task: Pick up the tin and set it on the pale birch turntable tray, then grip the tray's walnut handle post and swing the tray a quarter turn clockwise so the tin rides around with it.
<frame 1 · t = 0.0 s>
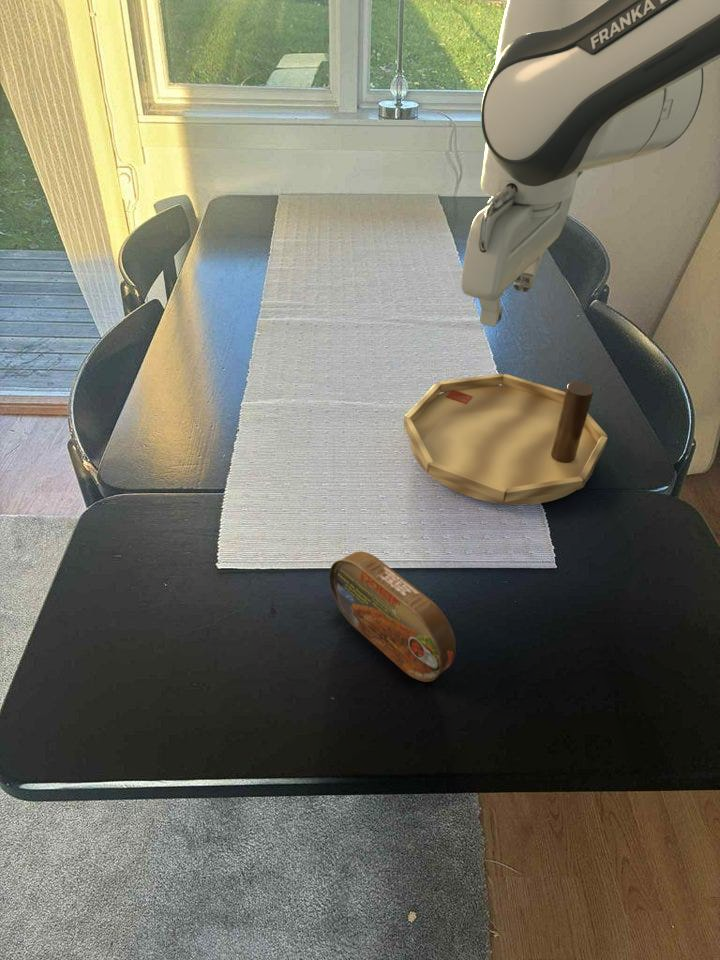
hand: (507, 305, 76), 22 cm above the table, tool pointing down, fingers open, 8 cm apart
tin: (388, 641, 69), on the table
tray: (508, 407, 88), point 7 cm above the table, hinge at 0.0°
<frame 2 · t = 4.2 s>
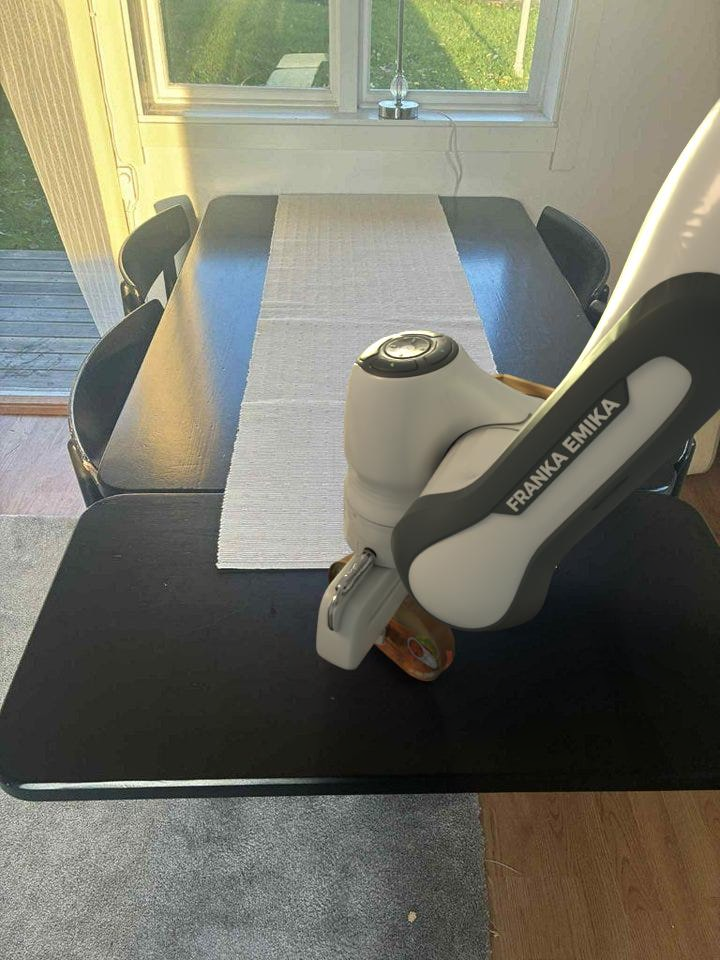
hand: (389, 620, 67), 3 cm above the table, tool pointing down, fingers closed on tin, 3 cm apart
tin: (389, 639, 69), on the table, touching gripper
everything else where it was.
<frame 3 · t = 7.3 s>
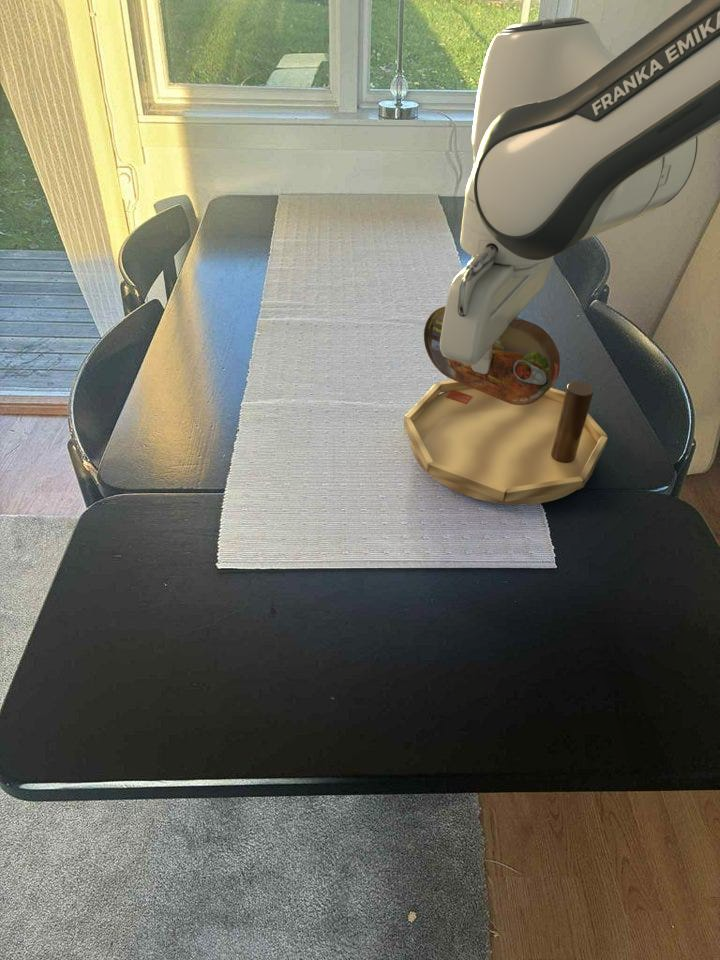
hand: (489, 360, 73), 19 cm above the table, tool pointing down, fingers closed on tin, 3 cm apart
tin: (485, 385, 75), point 16 cm above the table, touching gripper
everything else where it was.
when the fingers open (6 cm above the table, at t = 10.9 s): tin stays where it is, resting on tray.
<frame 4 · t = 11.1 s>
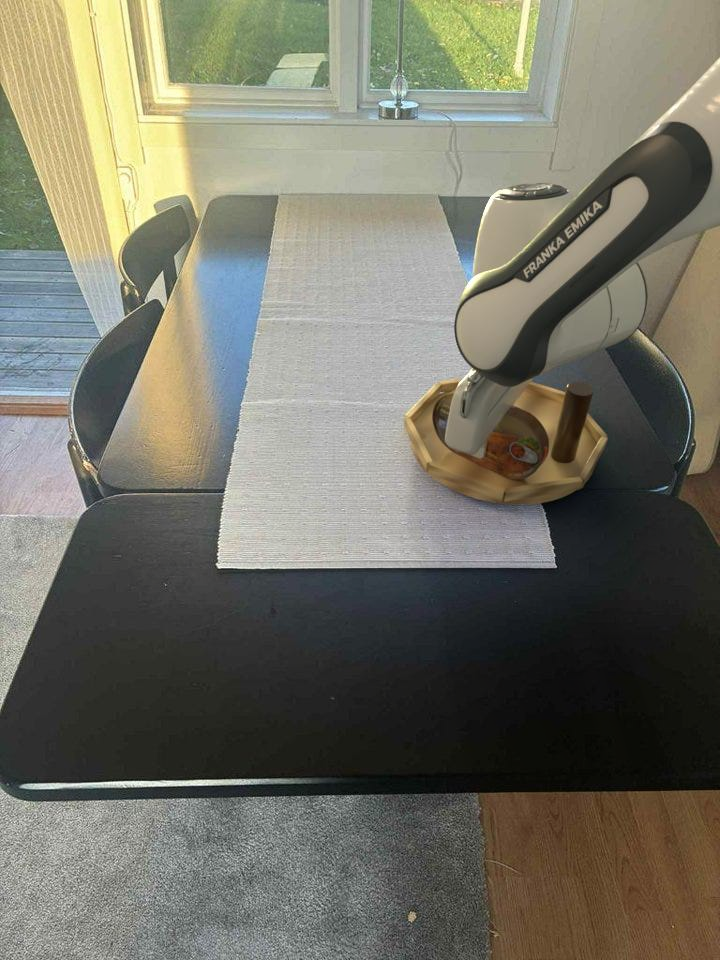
hand: (488, 440, 85), 6 cm above the table, tool pointing down, fingers open, 5 cm apart
tin: (484, 460, 87), point 2 cm above the table, touching tray
tray: (508, 407, 88), point 7 cm above the table, hinge at -0.5°, touching tin
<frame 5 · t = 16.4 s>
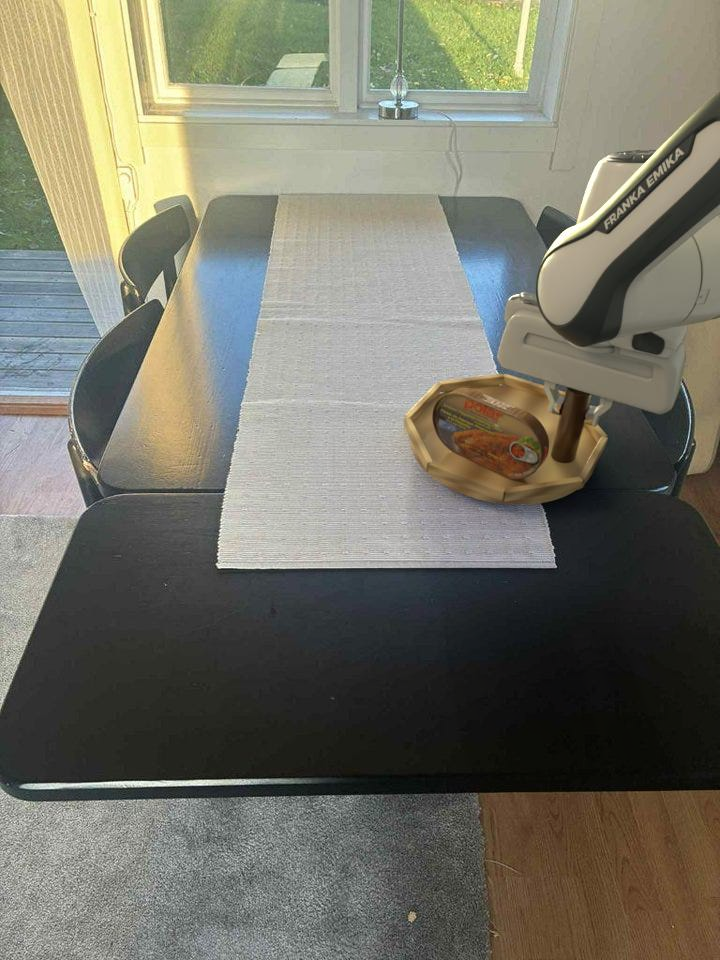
hand: (573, 417, 84), 9 cm above the table, tool pointing down, fingers closed on tray, 3 cm apart
tray: (508, 407, 88), point 7 cm above the table, hinge at -0.4°, touching gripper, tin
everything else where it was.
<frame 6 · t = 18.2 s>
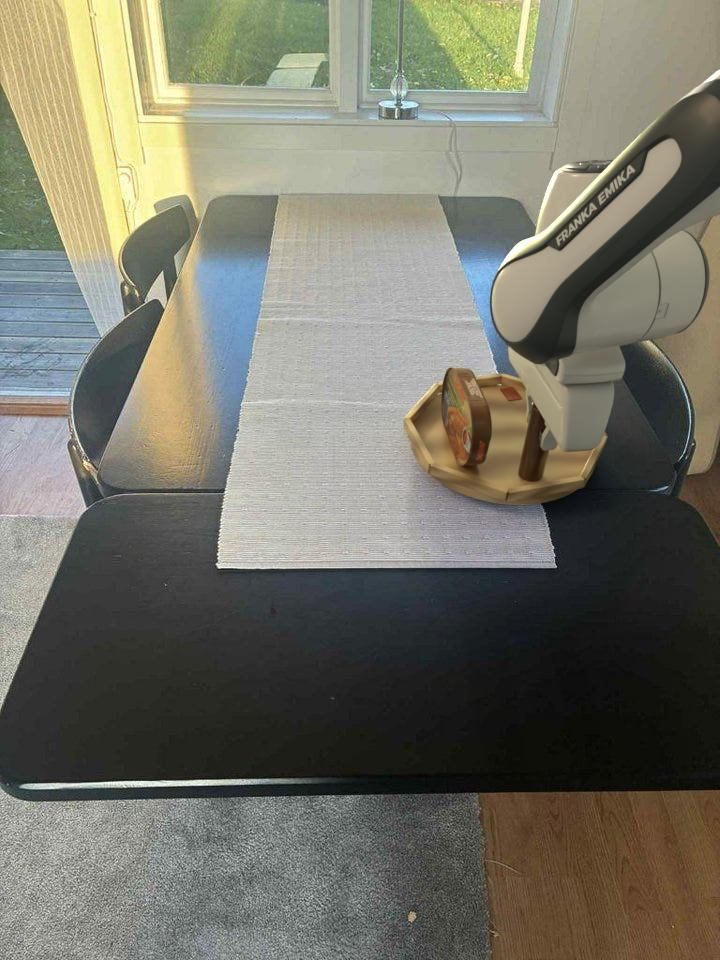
hand: (540, 435, 81), 9 cm above the table, tool pointing down, fingers closed on tray, 3 cm apart
tin: (461, 443, 89), point 3 cm above the table, touching tray
tray: (508, 407, 88), point 7 cm above the table, hinge at -44.0°, touching gripper, tin
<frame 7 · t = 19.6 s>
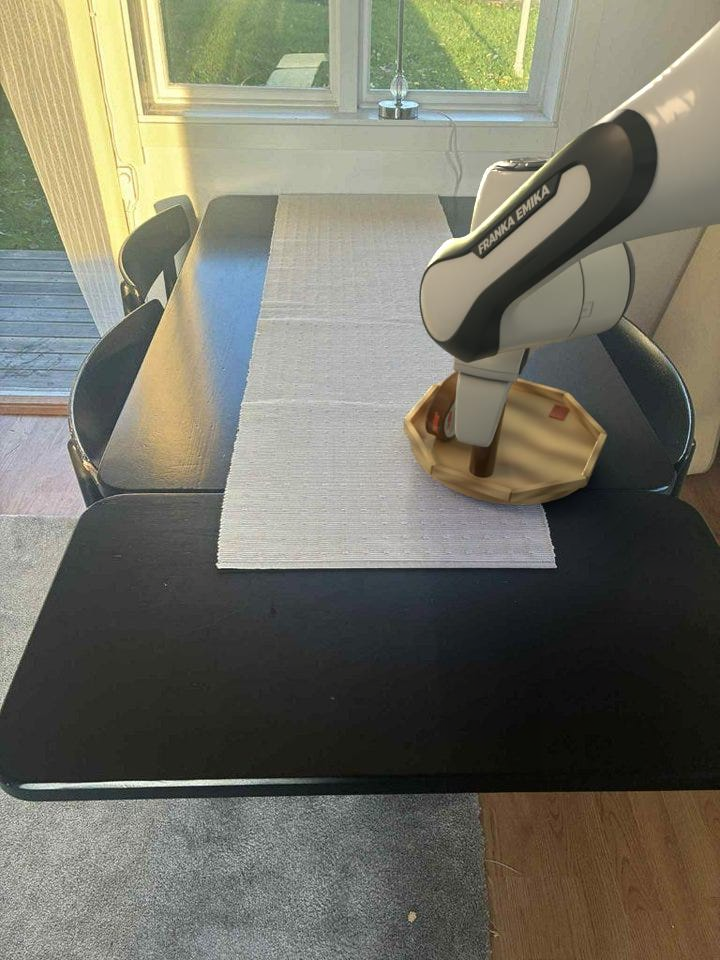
hand: (485, 430, 81), 9 cm above the table, tool pointing down, fingers closed on tray, 3 cm apart
tin: (461, 423, 93), point 2 cm above the table, touching tray
tray: (508, 407, 88), point 7 cm above the table, hinge at -87.3°, touching gripper, tin
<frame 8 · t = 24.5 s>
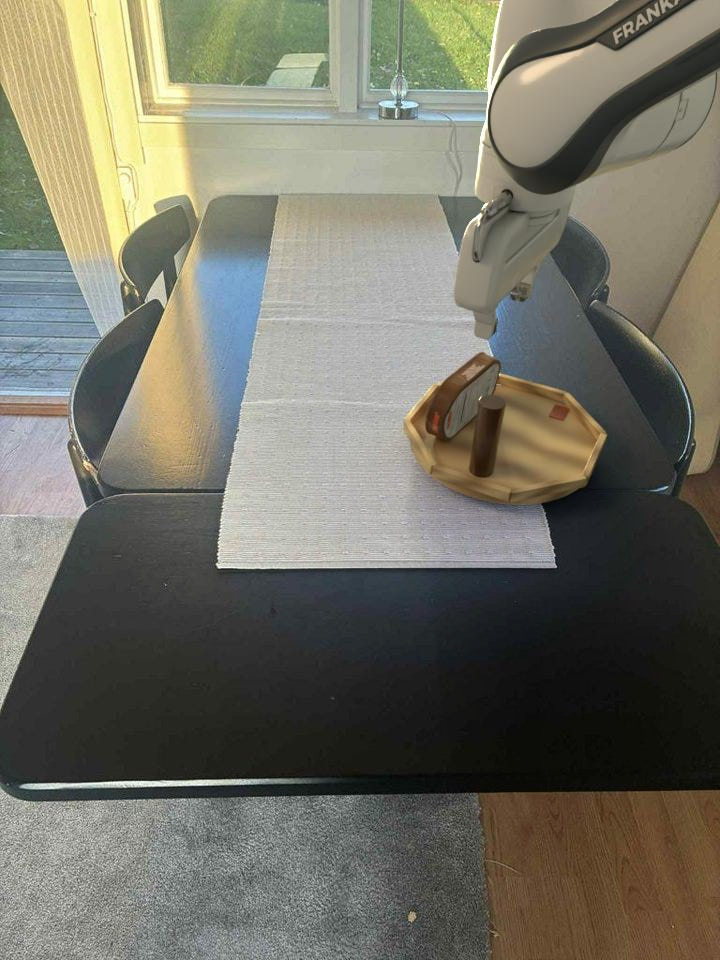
hand: (502, 316, 72), 23 cm above the table, tool pointing down, fingers open, 8 cm apart
tray: (508, 407, 88), point 7 cm above the table, hinge at -87.3°, touching tin
everything else where it was.
at the end: tray at -87° (first picture: +0°); tin 0.4 cm from the target spot on the tray, point 1.0 cm above the tray's base; tin tilted 0° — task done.
